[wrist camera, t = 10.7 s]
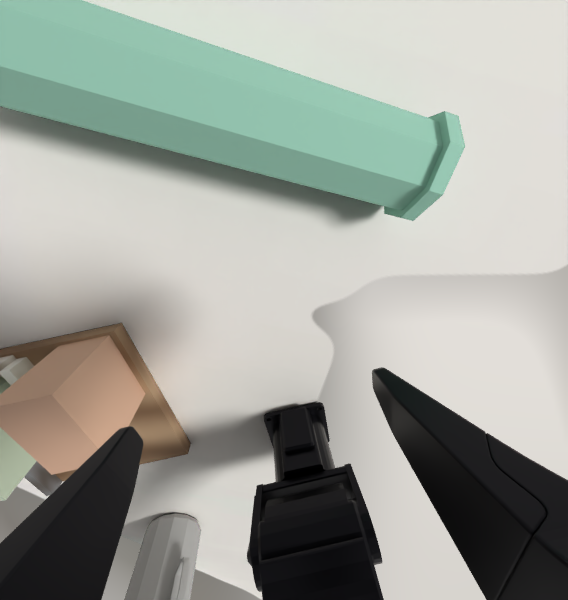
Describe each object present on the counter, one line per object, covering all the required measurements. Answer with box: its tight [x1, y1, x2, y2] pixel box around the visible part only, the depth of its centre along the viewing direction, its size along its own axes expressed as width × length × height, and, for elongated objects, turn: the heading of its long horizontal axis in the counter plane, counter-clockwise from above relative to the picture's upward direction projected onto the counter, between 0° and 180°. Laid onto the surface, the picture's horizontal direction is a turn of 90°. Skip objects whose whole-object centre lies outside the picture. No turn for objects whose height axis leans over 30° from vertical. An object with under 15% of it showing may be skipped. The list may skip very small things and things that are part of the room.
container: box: [0, 0, 465, 221], centre depth 13 cm, size 6×6×25 cm
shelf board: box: [0, 323, 191, 496], centre depth 22 cm, size 16×15×3 cm
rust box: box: [0, 335, 145, 475], centre depth 18 cm, size 4×6×6 cm, turn 11°
